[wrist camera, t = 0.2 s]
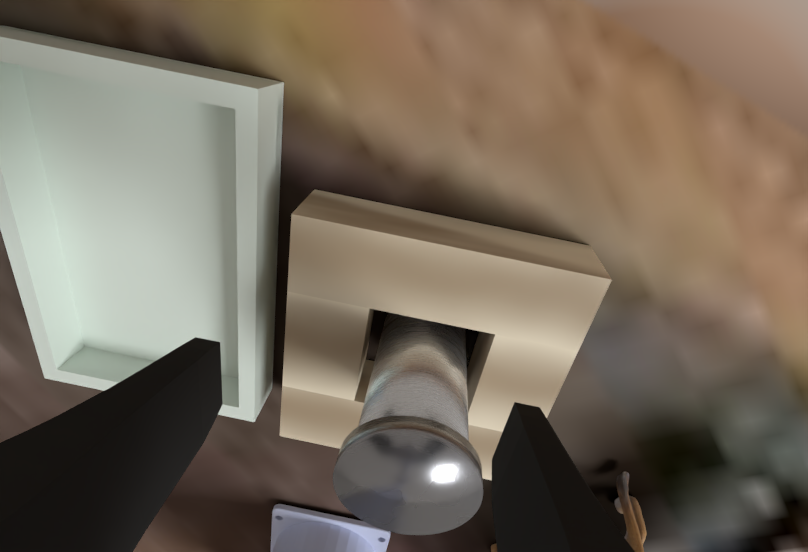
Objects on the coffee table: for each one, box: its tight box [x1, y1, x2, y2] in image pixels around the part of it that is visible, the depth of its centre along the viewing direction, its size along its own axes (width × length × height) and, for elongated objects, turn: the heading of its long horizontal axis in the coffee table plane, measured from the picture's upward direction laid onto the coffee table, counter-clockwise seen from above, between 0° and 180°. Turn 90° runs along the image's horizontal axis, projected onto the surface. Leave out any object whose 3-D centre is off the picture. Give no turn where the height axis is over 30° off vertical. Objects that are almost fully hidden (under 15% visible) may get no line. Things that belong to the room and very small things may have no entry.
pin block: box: [280, 189, 612, 480], centre depth 20 cm, size 12×12×3 cm
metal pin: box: [333, 312, 483, 535], centre depth 18 cm, size 5×5×9 cm
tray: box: [0, 26, 284, 422], centre depth 20 cm, size 16×11×2 cm
